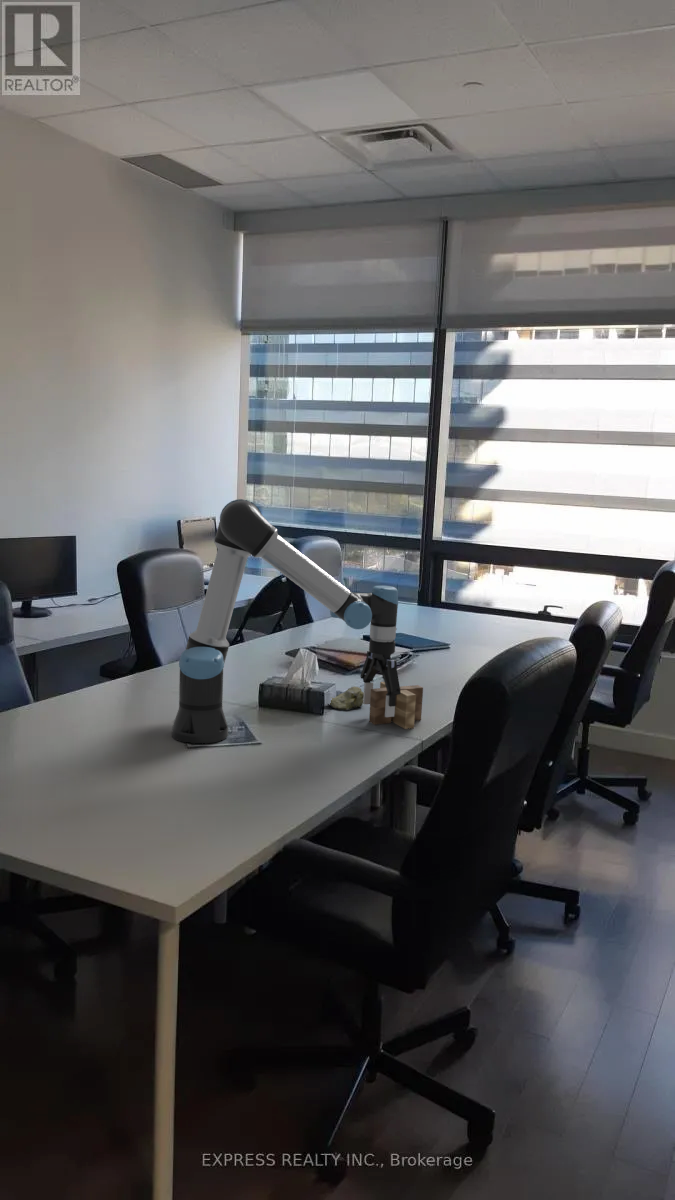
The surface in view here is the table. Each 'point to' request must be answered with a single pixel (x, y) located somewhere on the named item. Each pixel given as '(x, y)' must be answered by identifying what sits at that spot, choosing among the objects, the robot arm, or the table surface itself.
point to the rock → (348, 699)
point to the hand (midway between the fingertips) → (378, 710)
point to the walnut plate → (380, 701)
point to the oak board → (404, 708)
